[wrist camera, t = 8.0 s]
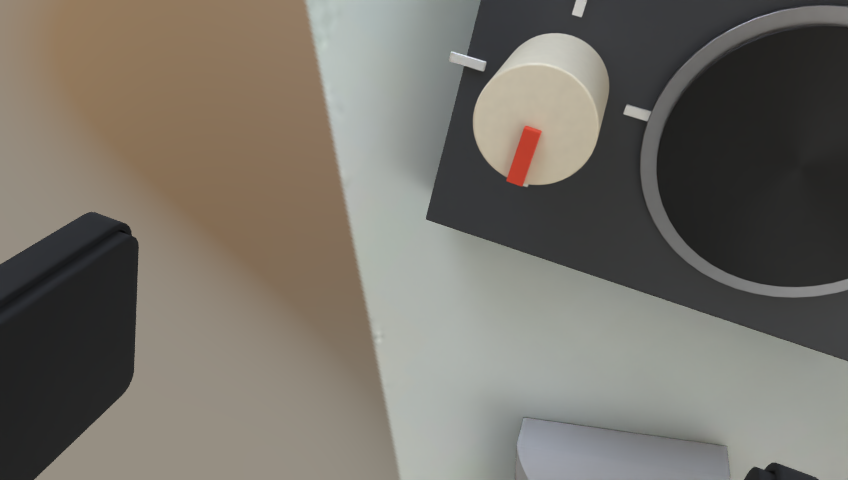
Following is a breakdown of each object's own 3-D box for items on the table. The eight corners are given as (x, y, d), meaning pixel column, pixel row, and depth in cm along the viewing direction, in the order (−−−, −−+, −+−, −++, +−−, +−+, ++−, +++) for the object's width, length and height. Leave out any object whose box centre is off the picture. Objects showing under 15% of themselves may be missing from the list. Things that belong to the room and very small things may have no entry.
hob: (1048, -5, 26) (1086, 8, 23) (845, 332, 32) (859, 367, 30) (512, -145, 28) (498, -146, 26) (427, 193, 35) (410, 216, 33)
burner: (1048, 57, 24) (1057, 62, 24) (876, 331, 29) (880, 340, 29) (707, -36, 26) (707, -33, 25) (600, 241, 31) (599, 247, 30)
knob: (519, 18, 28) (490, 47, 23) (626, 52, 27) (618, 89, 23) (488, 119, 30) (456, 164, 25) (587, 153, 29) (572, 206, 25)
